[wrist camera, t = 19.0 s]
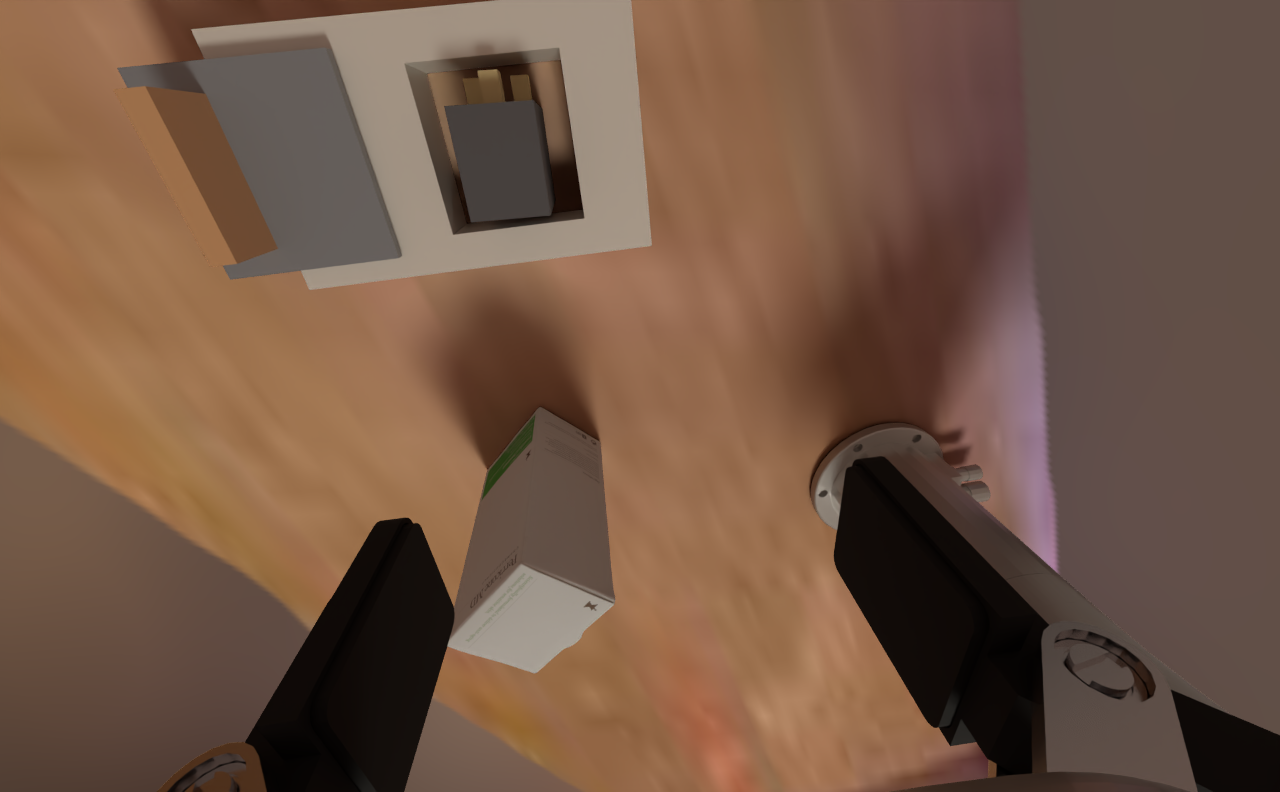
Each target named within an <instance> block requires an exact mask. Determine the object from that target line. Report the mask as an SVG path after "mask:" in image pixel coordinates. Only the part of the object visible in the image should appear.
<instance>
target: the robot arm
mask: <svg viewBox="0 0 1280 792" xmlns="http://www.w3.org/2000/svg"><path fill="white" fill-rule="evenodd" d="M982 477H983V472H982V469H981V468H980V467H979V466H978V465H976V464H975V465H969V466H963V467H960V468H954V467H951V466H950V465H949V464H948V463H946V462H945V461H944V460H943V453H942V450H941V448H940V446H939V444H938V443H937V442H936V440H935V439H934V438H933V437H932V436H930V435H929V434H928V433H927V432H925V431H924V430H923V429H921V428H919V427H916V426H914V425H910V424H906V423H886V424H880V425H876V426H872V427H869V428H866V429H864V430H862V431H859V432H857V433H855V434H853V435H851V436H850V437H848V438H847V439H845V440H844V441H842V442H841V443H840V444H838V445H837V446H836V447H835V448H834V449H833V450H832V451H831V452H830V453H829V454H828V455H827V456H826V457H825V459H824V460H823V461H822V462H821V464H820V466H819V467H818V469H817V471H816V473H815V475H814V478H813V480H812V485H811V501H812V504H813V507H814V509H815V511H816V512H817V514H818V515H819V517H820V518H821V519H822V520H823V521H824V522H825V523H826V524H827V525H828V526H830V527H832V528H833V529H836V530H837V535H836V542H835V549H834V562H835V565H836V568H837V570H838V572H839V574H840V576H841V577H842V579H843V581H844V582H845V584H846V586H847V588H848V589H849V591H850V593H851V594H852V596H853V598H854V599H855V601H856V603H857V604H858V606H859V608H860V609H861V611H862V613H863V615H864V616H865V618H866V620H867V621H868V623H869V625H870V626H871V628H872V630H873V631H874V633H875V635H876V636H877V638H878V640H879V642H880V643H881V645H882V647H883V648H884V650H885V652H886V653H887V655H888V657H889V658H890V660H891V662H892V663H893V665H894V667H895V669H896V670H897V672H898V674H899V675H900V677H901V679H902V680H903V682H904V684H905V685H906V687H907V689H908V690H909V692H910V694H911V696H912V697H913V699H914V701H915V702H916V704H917V706H918V707H919V709H920V711H921V712H922V714H923V716H924V717H925V719H926V720H927V722H928V723H929V724H930V725H931V726H933V727H934V728H938V727H939V728H940V730H941V732H942V733H943V735H944V737H945V738H946V740H947V742H948V743H949V745H950V746H954V745H960V744H967V743H973V742H977V744H978V745H979V747H980V748H981V750H982V751H983V753H984V754H985V756H986V757H987V759H989V767H988V778H985V779H977V780H970V781H962V782H955V783H947V784H939V785H932V786H924V787H917V788H910V789H904V790H897V791H891V792H1280V735H1278V734H1275V733H1273V732H1270V731H1268V730H1266V729H1263V728H1261V727H1259V726H1256V725H1254V724H1252V723H1249V722H1247V721H1244V720H1242V719H1240V718H1237V717H1235V716H1233V715H1232V714H1230V713H1228V712H1227V711H1226V710H1225V709H1223V708H1222V707H1220V706H1219V705H1218V704H1216V703H1215V702H1214V701H1212V700H1211V699H1209V698H1208V697H1207V696H1205V695H1204V694H1203V693H1201V692H1200V691H1199V690H1198V689H1196V688H1195V687H1194V686H1192V685H1191V684H1190V683H1188V682H1187V681H1186V680H1185V679H1183V678H1182V677H1181V676H1179V675H1178V674H1177V673H1175V672H1174V671H1173V670H1172V669H1170V668H1169V667H1168V666H1166V665H1165V664H1164V663H1162V662H1161V661H1160V660H1159V659H1157V658H1156V657H1154V656H1153V655H1152V654H1151V653H1150V652H1148V651H1147V650H1146V649H1145V648H1144V647H1143V646H1141V645H1140V644H1139V643H1138V642H1137V641H1135V640H1134V639H1133V638H1132V637H1130V635H1128V634H1127V633H1126V632H1125V631H1124V630H1122V629H1121V628H1120V627H1119V626H1118V625H1116V624H1115V623H1114V622H1113V621H1112V620H1111V619H1109V618H1108V617H1107V616H1106V615H1105V614H1104V613H1102V612H1101V611H1100V610H1099V609H1098V608H1097V607H1095V606H1094V605H1093V604H1092V603H1091V602H1090V601H1089V600H1088V599H1086V598H1085V597H1084V596H1083V595H1082V594H1081V593H1080V592H1079V591H1077V590H1076V589H1075V588H1074V587H1073V586H1072V585H1071V584H1070V583H1068V582H1067V581H1066V580H1064V579H1063V578H1062V577H1061V576H1060V575H1059V574H1058V573H1057V572H1056V571H1054V570H1053V569H1052V568H1051V567H1050V566H1049V565H1048V564H1047V563H1045V562H1044V561H1043V560H1042V559H1041V558H1040V557H1039V556H1038V555H1037V554H1035V553H1034V552H1033V551H1032V550H1031V549H1030V548H1029V547H1028V546H1026V545H1025V544H1024V543H1023V542H1022V541H1021V540H1020V539H1019V538H1018V537H1016V536H1015V535H1014V534H1013V533H1012V532H1011V531H1010V530H1009V529H1007V528H1006V527H1005V526H1004V525H1003V524H1002V523H1001V522H1000V521H998V520H997V519H996V518H995V517H994V516H993V515H992V514H991V513H990V512H988V511H987V510H986V509H985V508H984V507H983V506H982V505H981V504H979V503H978V502H984V501H988V500H989V498H990V490H989V488H988V486H987V485H986V484H985V483H984V482H982V481H975V482H969V483H963V484H961V482H962V481H971V480H977V479H981V478H982ZM454 618H455V612H454V607H453V604H452V602H451V599H450V597H449V594H448V592H447V589H446V587H445V584H444V582H443V579H442V577H441V575H440V572H439V570H438V567H437V565H436V562H435V560H434V557H433V555H432V552H431V550H430V547H429V545H428V543H427V540H426V538H425V535H424V533H423V530H422V528H421V526H420V525H419V524H418V523H414V524H413V523H412V521H411V520H410V519H409V518H399V519H391V520H384V521H379V522H377V523H376V524H375V526H374V527H373V529H372V531H371V532H370V534H369V536H368V537H367V539H366V541H365V542H364V544H363V546H362V547H361V549H360V551H359V552H358V554H357V556H356V558H355V559H354V561H353V563H352V564H351V566H350V568H349V569H348V571H347V573H346V574H345V576H344V578H343V580H342V581H341V583H340V585H339V586H338V588H337V590H336V591H335V593H334V595H333V596H332V598H331V599H330V601H329V602H328V603H327V605H326V607H325V608H324V610H323V612H322V613H321V615H320V617H319V619H318V620H317V622H316V624H315V625H314V627H313V629H312V630H311V632H310V634H309V635H308V637H307V639H306V640H305V642H304V644H303V646H302V647H301V649H300V651H299V652H298V654H297V656H296V657H295V659H294V661H293V662H292V664H291V666H290V667H289V669H288V671H287V672H286V674H285V676H284V678H283V679H282V681H281V683H280V684H279V686H278V688H277V689H276V691H275V693H274V694H273V696H272V698H271V699H270V701H269V703H268V704H267V706H266V708H265V709H264V711H263V713H262V715H261V716H260V718H259V720H258V721H257V723H256V725H255V727H254V728H253V730H252V731H251V733H250V735H249V737H248V738H247V740H246V742H245V743H244V742H236V743H227V744H224V745H221V746H219V747H216V748H213V749H211V750H209V751H207V752H205V753H204V754H202V755H200V756H198V757H197V758H195V759H193V760H192V761H191V762H189V763H188V764H187V765H185V766H184V767H183V768H181V769H180V770H179V771H178V772H176V773H175V774H174V775H173V776H172V777H171V778H170V779H169V780H168V781H167V782H166V783H165V784H164V785H163V786H162V787H161V788H160V789H159V790H158V791H157V792H404V790H405V786H406V783H407V780H408V777H409V773H410V770H411V766H412V763H413V760H414V756H415V753H416V750H417V746H418V743H419V740H420V736H421V733H422V729H423V726H424V723H425V719H426V716H427V713H428V709H429V706H430V703H431V699H432V696H433V692H434V689H435V686H436V682H437V679H438V676H439V672H440V669H441V666H442V662H443V659H444V655H445V652H446V649H447V645H448V642H449V639H450V635H451V632H452V628H453V625H454Z"/></svg>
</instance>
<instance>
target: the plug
mask: <svg viewBox="0 0 1280 792" xmlns="http://www.w3.org/2000/svg"><path fill="white" fill-rule="evenodd" d="M477 72H478V77H479V78H466V79H463V83H464V88H465V93H466V98H467V102H468V105H455V106H444V107H445V112H446V116H447V120H448V125H449V129H450V133H451V138H452V142H453V146H454V151H455V155H456V159H457V164H458V168H459V172H460V177H461V181H462V185H463V190H464V194H465V198H466V203H467V207H468V211H469V216H470V220H471V222H482V221H493V220H504V219H515V218H527V217H538V216H549V215H551V213H552V210H553V206H554V203H555V194H554V187H553V180H552V173H551V166H550V159H549V152H548V145H547V138H546V131H545V124H544V117H543V110H542V108H541V107H540V106H539V105H538V104H537V103H536V102H535V101H534V100H532V94H531V87H530V80H529V76H528V75H512V76H510V79H511V85H512V91H513V97H514V101H512V102H505V96H504V90H503V85H502V79H501V73H500V72H499V71H498V70H497V69H495V70H479V71H477Z"/></svg>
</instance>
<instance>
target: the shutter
mask: <svg viewBox="0 0 1280 792" xmlns="http://www.w3.org/2000/svg"><path fill="white" fill-rule="evenodd" d="M117 69H118V70H119V72H120V74H121V76H122V78H123V80H124V82H125V84H126V85H127V87H128V88H122V89H113V90H114V92H115V94H116V96H117V98H118V99H119V101H120V103H121V105H122V107H123V109H124V110H125V112H126V114H127V116H128V118H129V119H130V121H131V123H132V125H133V127H134V129H135V130H136V132H137V134H138V136H139V138H140V140H141V141H142V143H143V145H144V147H145V149H146V150H147V152H148V154H149V156H150V158H151V160H152V161H153V163H154V165H155V167H156V169H157V171H158V172H159V174H160V176H161V178H162V180H163V181H164V183H165V185H166V187H167V189H168V191H169V192H170V194H171V196H172V198H173V200H174V202H175V203H176V205H177V207H178V209H179V211H180V212H181V214H182V216H183V218H184V220H185V222H186V223H187V225H188V227H189V229H190V231H191V233H192V234H193V236H194V238H195V240H196V242H197V243H198V245H199V247H200V249H201V251H202V253H203V254H204V256H205V258H206V260H207V262H208V264H209V265H210V267H216V266H223V267H224V269H225V271H226V273H227V274H228V276H229V278H230V279H238V278H246V277H254V276H262V275H270V274H278V273H286V272H294V271H301V270H309V269H317V268H325V267H333V266H341V265H349V264H357V263H365V262H373V261H381V260H388V259H396V258H400V257H401V256H402V254H401V251H400V248H399V245H398V242H397V239H396V236H395V233H394V230H393V227H392V225H391V222H390V219H389V216H388V213H387V210H386V207H385V204H384V201H383V198H382V195H381V192H380V190H379V187H378V184H377V181H376V178H375V175H374V172H373V169H372V166H371V163H370V160H369V158H368V155H367V152H366V149H365V146H364V143H363V140H362V137H361V134H360V131H359V128H358V126H357V123H356V120H355V117H354V114H353V111H352V108H351V105H350V102H349V99H348V96H347V93H346V91H345V88H344V85H343V82H342V79H341V76H340V73H339V70H338V67H337V64H336V61H335V59H334V56H333V53H332V50H331V49H328V48H315V49H305V50H295V51H285V52H275V53H265V54H255V55H244V56H234V57H224V58H214V59H204V60H194V61H184V62H173V63H163V64H153V65H143V66H133V67H123V68H117Z"/></svg>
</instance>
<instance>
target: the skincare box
mask: <svg viewBox="0 0 1280 792" xmlns="http://www.w3.org/2000/svg"><path fill="white" fill-rule="evenodd" d="M614 603H615V595H614V590H613V582H612V572H611V561H610V549H609V537H608V526H607V515H606V503H605V492H604V480H603V468H602V455H601V443H600V442H599V441H598V440H596V439H594V438H593V437H591V436H589V435H588V434H586V433H584V432H583V431H581V430H579V429H578V428H576V427H574V426H573V425H571V424H569V423H567V422H566V421H564V420H562V419H560V418H559V417H557V416H555V415H554V414H552V413H550V412H549V411H547V410H545V409H544V408H542V407H539V408H538V409H537V410H536V411H535V412H534V414H533V415H532V416H531V418H530V419H529V420H528V421H527V422H526V423H525V425H524V426H523V427H522V428H521V429H520V431H519V432H518V433H517V434H516V436H515V437H514V438H513V439H512V441H511V442H510V443H509V444H508V446H507V447H506V448H505V449H504V451H503V452H502V453H501V454H500V456H499V457H498V458H497V459H496V460H495V461H494V463H493V464H492V465H491V466H490V467H489V469H488V470H487V473H486V477H485V481H484V485H483V490H482V494H481V498H480V502H479V506H478V511H477V515H476V519H475V523H474V528H473V532H472V536H471V540H470V544H469V548H468V552H467V556H466V560H465V565H464V569H463V573H462V577H461V581H460V586H459V590H458V594H457V598H456V602H455V606H454V612H455V618H454V625H453V628H452V632H451V635H450V639H449V642H448V645H447V647H450V648H453V649H456V650H459V651H462V652H466V653H469V654H473V655H476V656H480V657H483V658H487V659H490V660H494V661H497V662H501V663H504V664H507V665H510V666H514V667H517V668H520V669H523V670H526V671H529V672H532V673H537V672H538V671H539V670H540V669H541V668H542V667H544V666H545V665H546V664H547V663H548V662H549V661H550V660H552V659H553V658H554V657H555V656H556V655H557V654H558V653H560V652H561V651H562V650H563V649H565V648H568V647H570V646H572V645H574V644H575V643H576V642H578V641H579V639H580V638H581V636H582V634H583V632H584V630H585V629H587V628H588V627H589V626H590V625H591V624H592V623H594V622H595V621H596V620H597V619H598V618H599V617H600V616H602V615H603V614H604V613H605V612H606V611H607V610H609V609H610V608H611V607H612V606H613V605H614Z"/></svg>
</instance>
